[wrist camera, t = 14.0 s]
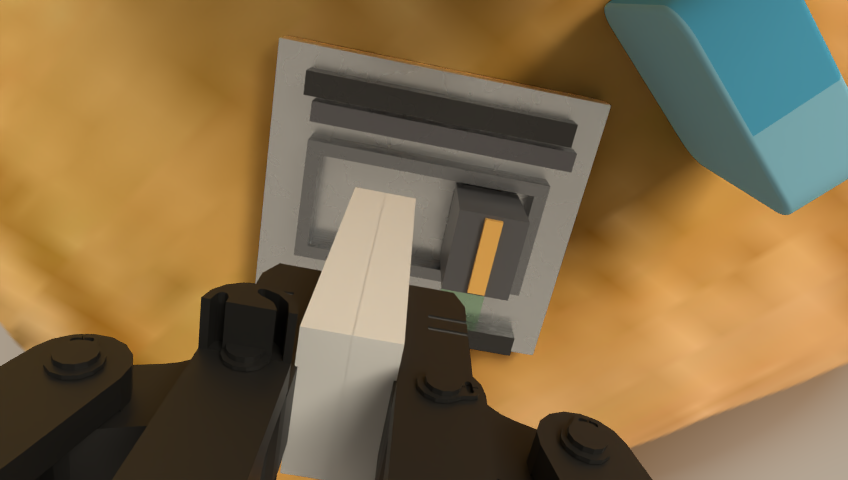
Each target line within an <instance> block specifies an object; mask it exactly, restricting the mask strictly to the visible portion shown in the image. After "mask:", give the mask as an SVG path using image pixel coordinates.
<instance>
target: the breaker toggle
mask: <svg viewBox="0 0 848 480" xmlns="http://www.w3.org/2000/svg"><path fill="white" fill-rule="evenodd" d="M529 225H530V222H529V219H528V217H527V215H526V212H525V210H524V208H523V206H522V203H521V201H520V199H519V196H518V195H516V194H510V193H505V192H500V191H495V190H490V189H484V188H479V187H474V186H469V185H464V184H459V183H456V186H455V191H454V195H453V200H452V204H451V208H450V213H449V217H448V222H447V226H446V231H445V235H444V239H443V244H442V248H441V253H440V265H441V289H445V290H451V291H456V292H462V293H467V294H473V295H478V296H484V297H489V298H495V299H500V300H506V301H508V299H509V295H510V292H511V288H512V285H513V281H514V278H515V274H516V271H517V267H518V264H519V260H520V256H521V253H522V249H523V246H524V242H525V239H526V235H527V232H528V228H529Z"/></svg>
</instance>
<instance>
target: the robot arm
mask: <svg viewBox="0 0 848 480" xmlns="http://www.w3.org/2000/svg"><path fill="white" fill-rule="evenodd" d="M415 202H416V199H415V198H410V197H405V196H399V195H394V194H389V193H384V192H378V191H373V190H368V189H363V188H357V187H355V189H354V192H353V194H352V197H351V199H350V202H349V204H348V207H347V209H346V212H345V215H344V217H343V220H342V222H341V225H340V227H339V230H338V232H337V235H336V237H335V240H334V242H333V245H332V247H331V250H330V252H329V255H328V257H327V260H326V262H325V265H324V267H323V270H322V271H320V270H315V269H309V268H304V267H298V266H293V265H287V264H282V263H279V264H277V265H276V266H274V267H272V268H270V269H268V270H266V271H265V272H263V273H262V274H261V276H260V278H259V279H258V281H257V283H256V284H255V283H236V284H226V285H223V286H220V287H217V288H215V289H212V290H210V291H209V292H208V293H206V294H205V295H204V296H203V297H201V312H200V329H199V346H198V349H197V351H196V352H195V354H194V356H193V357H192V359H191V360H187V361H183V362H178V363H168V364H148V365H133V354H132V353H131V351H130V350H129V348H128V347H127V345H126V344H124V343H122V342H120V341H118V340H116V339H114V338H112V337H107V336H101V335H96V334H76V335H69V336H64V337H59V338H55V339H51V340H49V341H46V342H44V343H42V344H39V345H37V346H35V347H32V348H31V349H29V350H27V351H26V352H24V353H22V354H20V355H19V356H17V357H15V358H14V359H12V360H10V361H8V362H7V363H5V364H3V365H2V366H0V480H276V477H277V473H278V470H279V466H280V463H281V460H282V464H281V472H280V473H284V474H290V475H296V476H303V477H309V478H315V479H322V480H652V479H651V477H650V476H649V474H648V473H647V472H646V470H645V469H644V468H643V466H642V465H641V464H640V462H639V461H638V459H637V458H636V457H635V455H634V454H633V452H632V451H631V450H630V448H629V447H628V446H627V444H626V443H625V442H624V441H623V440H622V439H621V438H620V437H619V436H618V435H617V434H616V433H615V432H614V431H613V430H611V429H610V428H608V427H607V426H605V425H604V424H602V423H601V422H599V421H597V420H595V419H592V418H589V417H587V416H584V415H582V414H576V413H569V412H559V413H552V414H549V415H547V416H546V417H545V418H543V419H542V420H540V423H539V426H538V428H537V430H536V429H534V428H531V427H529V426H526V425H524V424H521V423H519V422H516V421H514V420H512V419H510V418H507V417H505V416H503V415H501V414H500V413H498V412H497V411H495V410H494V409H492V408H491V407H489V406H488V405H487V400H486V395H485V393H484V390H483V388H482V386H481V384H480V383H479V382H478V381H477V380H476V379H475V378H474V377H472V367H471V358H470V349H469V340H468V336H467V335H468V330H467V324H466V322H467V321H466V312H465V306H464V305H463V304H462V303H461V301H460V300H459V299H458V298H457V296H456V295H455V294H454V293H452V292H447V291H441V290H436V289H430V288H425V287H419V286H414V285H409V279H410V266H411V253H412V241H413V228H414V215H415Z"/></svg>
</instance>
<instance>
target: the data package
mask: <svg viewBox="0 0 848 480" xmlns="http://www.w3.org/2000/svg"><path fill="white" fill-rule="evenodd" d="M604 12H605V16H606V19H607V21H608V23H609V25H610V27H611V28H612V30H613V32H614V33H615V35H616V36H617V38H618V40H619V41H620V43H621V44H622V46H623V48H624V49H625V51H626V53H627V54H628V56H629V57H630V59H631V61H632V62H633V64H634V65H635V67H636V69H637V70H638V72H639V74H640V75H641V77H642V78H643V80H644V82H645V83H646V85H647V86H648V88H649V90H650V91H651V93H652V95H653V96H654V98H655V99H656V101H657V103H658V104H659V106H660V107H661V109H662V111H663V112H664V114H665V116H666V117H667V119H668V120H669V122H670V124H671V125H672V127H673V128H674V130H675V132H676V133H677V135H678V136H679V138H680V140H681V141H682V143H683V144H684V146H685V147H686V149H687V150H688V151H689V153H690V154H691V155H692V156H693V157H694V158H695V159H696V160H697V161H698V162H699V163H700V164H701V165H702V166H704V167H706V168H707V169H709V170H710V171H712V172H714V173H715V174H717V175H718V176H720V177H722V178H723V179H725V180H726V181H728V182H730V183H731V184H733V185H734V186H736V187H738V188H739V189H741V190H742V191H744V192H746V193H747V194H749V195H750V196H752V197H754V198H755V199H757V200H758V201H760V202H762V203H763V204H765V205H766V206H768V207H769V208H771V209H773V210H774V211H776V212H778V213H780V214H782V215H789V214H791V213H793V212H794V211H796V210H798V209H799V208H801V207H803V206H804V205H806V204H808V203H809V202H811V201H813V200H814V199H816V198H817V197H819V196H821V195H822V194H824V193H826V192H827V191H829V190H831V189H832V188H834V187H835V186H837V185H839V184H840V183H842V182H844V181H845V180H847V179H848V88H847V85H846V83H845V81H844V79H843V77H842V75H841V73H840V71H839V69H838V67H837V65H836V63H835V61H834V59H833V57H832V55H831V53H830V51H829V49H828V47H827V45H826V43H825V41H824V39H823V37H822V35H821V33H820V31H819V29H818V27H817V25H816V23H815V21H814V19H813V17H812V15H811V13H810V11H809V9H808V7H807V5H806V3H805V1H804V0H611V1H610V2H609V3H607V4H606V6H605V8H604Z"/></svg>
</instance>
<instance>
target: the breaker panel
mask: <svg viewBox="0 0 848 480" xmlns="http://www.w3.org/2000/svg"><path fill="white" fill-rule="evenodd" d="M610 108H611V105H610V104H608V103H606V102H605V101H603V100H599V99H595V98H590V97H585V96H580V95H575V94H570V93H565V92H560V91H556V90H551V89H546V88H541V87H536V86H531V85H526V84H521V83H517V82H512V81H507V80H502V79H497V78H492V77H487V76H482V75H478V74H473V73H468V72H463V71H458V70H453V69H448V68H443V67H438V66H434V65H429V64H424V63H419V62H414V61H409V60H404V59H399V58H395V57H390V56H385V55H380V54H375V53H370V52H365V51H360V50H356V49H351V48H346V47H341V46H336V45H331V44H326V43H321V42H317V41H312V40H307V39H302V38H297V37H292V36H283V37H279V45H278V55H277V66H276V76H275V86H274V97H273V107H272V117H271V127H270V138H269V148H268V158H267V169H266V179H265V189H264V200H263V210H262V220H261V230H260V241H259V251H258V261H257V272H256V282H255V284H256V283H257V281H258V279H259V278H260V276H261V274H262V273H263V272H265V271H266V270H268V269H270V268H272V267H274V266H276V265H277V264H279V263H282V264H287V265H293V266H298V267H304V268H309V269H315V270H320V271H322V270H323V267H324V265H325V262H326V260H327V257H328V255H329V252H330V250H331V247H332V245H333V242H334V240H335V237H336V235H337V232H338V230H339V227H340V225H341V222H342V220H343V217H344V215H345V212H346V209H347V207H348V204H349V202H350V199H351V197H352V194H353V192H354V189H355V187H357V188H363V189H368V190H373V191H378V192H384V193H389V194H394V195H399V196H405V197H410V198H415V199H416V202H415V215H414V228H413V241H412V253H411V266H410V279H409V285H414V286H419V287H425V288H430V289H436V290H441V291H447V292H452V293H454V294H455V295H456V296H457V298H458V299H459V300H460V301H461V303H462V304H463V305H464V306H465V312H466V321H467V322H466V324H467V330H468V335H467V336H468V340H469V349H475V350H480V351H486V352H492V353H498V354H503V355H509V356H510V353H511V351H512V352H517V353H523V354H529V355H533V353H534V349H535V346H536V343H537V340H538V337H539V333H540V330H541V327H542V324H543V321H544V318H545V314H546V311H547V308H548V305H549V302H550V298H551V295H552V292H553V289H554V286H555V283H556V279H557V276H558V273H559V270H560V267H561V263H562V260H563V257H564V254H565V251H566V248H567V244H568V241H569V238H570V235H571V232H572V228H573V225H574V222H575V219H576V216H577V213H578V209H579V206H580V203H581V200H582V197H583V193H584V190H585V187H586V184H587V181H588V178H589V174H590V171H591V168H592V165H593V162H594V158H595V155H596V152H597V149H598V146H599V143H600V139H601V136H602V133H603V130H604V127H605V124H606V120H607V117H608V114H609V111H610ZM456 183H459V184H464V185H469V186H474V187H479V188H484V189H490V190H495V191H500V192H505V193H510V194H516V195H518V196H519V199H520V201H521V203H522V206H523V208H524V210H525V212H526V215H527V217H528V219H529V222H530V225H529V228H528V232H527V235H526V239H525V242H524V246H523V249H522V253H521V256H520V260H519V264H518V267H517V271H516V274H515V278H514V281H513V285H512V288H511V292H510V295H509V299H508V301H506V300H500V299H495V298H489V297H484V296H478V295H473V294H467V293H462V292H456V291H451V290H445V289H441V265H440V253H441V248H442V244H443V239H444V235H445V231H446V226H447V222H448V217H449V213H450V208H451V204H452V200H453V195H454V191H455V186H456Z"/></svg>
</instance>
